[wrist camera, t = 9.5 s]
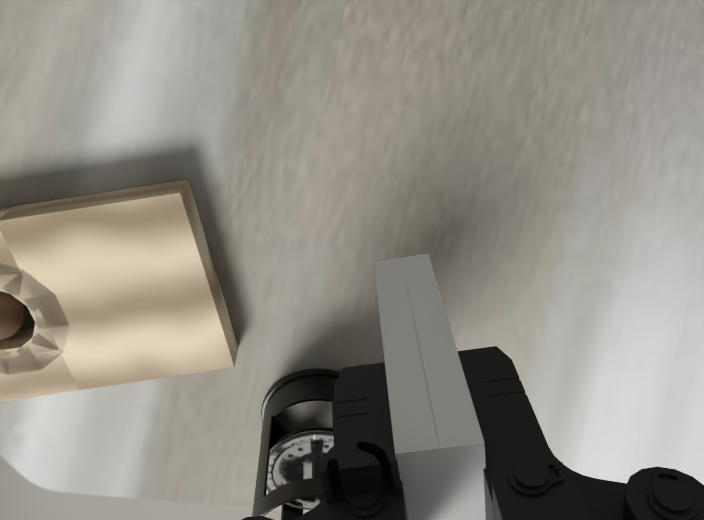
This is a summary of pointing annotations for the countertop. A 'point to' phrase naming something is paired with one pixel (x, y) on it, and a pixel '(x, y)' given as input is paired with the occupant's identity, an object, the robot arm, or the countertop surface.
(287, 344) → the countertop surface
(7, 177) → the countertop surface
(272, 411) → the french press
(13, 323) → the ball
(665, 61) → the countertop surface
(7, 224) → the cutting board
